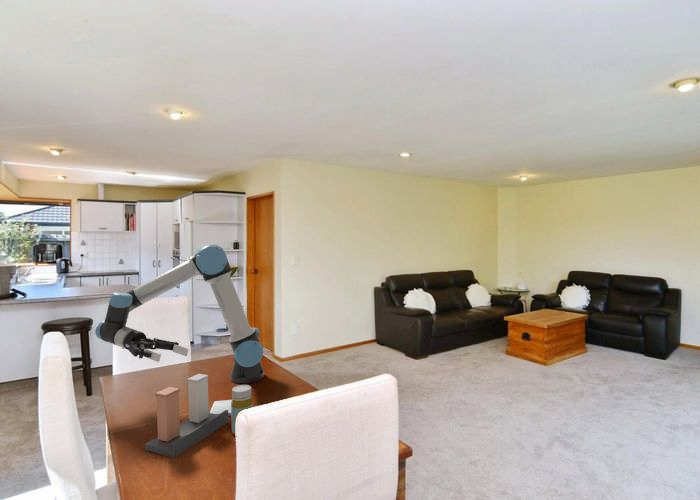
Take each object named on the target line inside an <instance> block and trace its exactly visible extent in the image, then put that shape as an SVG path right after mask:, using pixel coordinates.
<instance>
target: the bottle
mask: <svg viewBox="0 0 700 500" xmlns="http://www.w3.org/2000/svg"><path fill="white" fill-rule="evenodd" d="M231 397H232V399H231V400H232V402H231V416H230V417H231V434H232V435H233V436H235V419H236V416H237V414H238V413H239V412H240V411H242V410H244V409H248V408H251V407H253V408H254V401H253V398H252V386H251V385H249V384H240V385H236V386H234V387H232V390H231ZM235 437H236V436H235Z"/></svg>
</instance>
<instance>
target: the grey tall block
mask: <svg viewBox="0 0 700 500" xmlns="http://www.w3.org/2000/svg"><path fill="white" fill-rule="evenodd" d="M208 378H209V374H203V373H197V374H194V375H193V376H191V377H188V378H187V379H186V381H187V387H188V388H187V390H188V393H187V394H188V417H189V418H188V419H189V421H191V422H196V423H199V422H201V421H203V420H204V419H206V418H208V417H209V413H210V410H209V381H208V380H209V379H208Z"/></svg>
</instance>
